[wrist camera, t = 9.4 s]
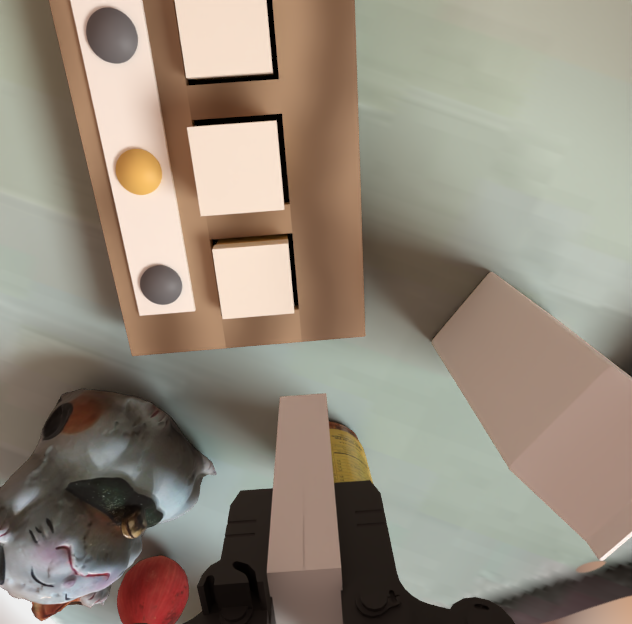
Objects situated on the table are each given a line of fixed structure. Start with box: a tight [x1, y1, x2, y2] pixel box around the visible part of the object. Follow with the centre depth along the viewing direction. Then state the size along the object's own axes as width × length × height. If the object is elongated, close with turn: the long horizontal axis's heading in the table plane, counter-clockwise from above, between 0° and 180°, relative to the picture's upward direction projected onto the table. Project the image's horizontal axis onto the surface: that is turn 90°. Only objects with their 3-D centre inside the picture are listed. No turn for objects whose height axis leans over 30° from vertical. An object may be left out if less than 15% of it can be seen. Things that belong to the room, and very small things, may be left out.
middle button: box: [187, 120, 284, 216], centre depth 28 cm, size 5×5×4 cm
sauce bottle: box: [329, 421, 373, 483], centre depth 33 cm, size 7×6×20 cm
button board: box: [49, 0, 365, 356], centre depth 31 cm, size 16×24×4 cm, turn 4°
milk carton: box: [432, 272, 632, 561], centre depth 30 cm, size 7×7×19 cm
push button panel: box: [70, 0, 196, 316], centre depth 29 cm, size 4×18×1 cm, turn 4°
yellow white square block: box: [175, 0, 273, 81], centre depth 27 cm, size 5×5×4 cm
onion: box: [117, 555, 189, 624], centre depth 43 cm, size 6×6×8 cm
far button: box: [212, 233, 294, 319], centre depth 33 cm, size 5×5×4 cm
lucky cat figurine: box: [0, 389, 216, 621], centre depth 36 cm, size 15×12×14 cm
